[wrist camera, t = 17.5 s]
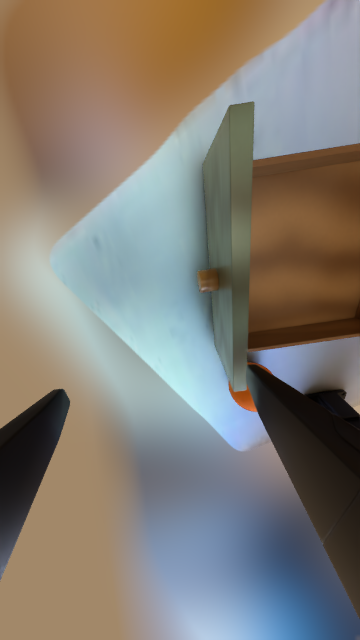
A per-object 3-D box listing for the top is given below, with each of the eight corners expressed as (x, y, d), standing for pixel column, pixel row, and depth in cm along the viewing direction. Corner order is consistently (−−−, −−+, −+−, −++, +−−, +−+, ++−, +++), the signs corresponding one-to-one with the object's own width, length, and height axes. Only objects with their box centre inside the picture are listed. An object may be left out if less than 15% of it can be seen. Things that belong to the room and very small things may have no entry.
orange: (263, 382, 28) (287, 421, 22) (224, 388, 28) (238, 428, 22) (265, 350, 25) (293, 384, 19) (222, 356, 25) (238, 392, 20)
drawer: (347, 326, 23) (423, 365, 16) (202, 347, 23) (215, 394, 16) (405, 130, 15) (604, 42, 8) (183, 166, 15) (194, 110, 8)
